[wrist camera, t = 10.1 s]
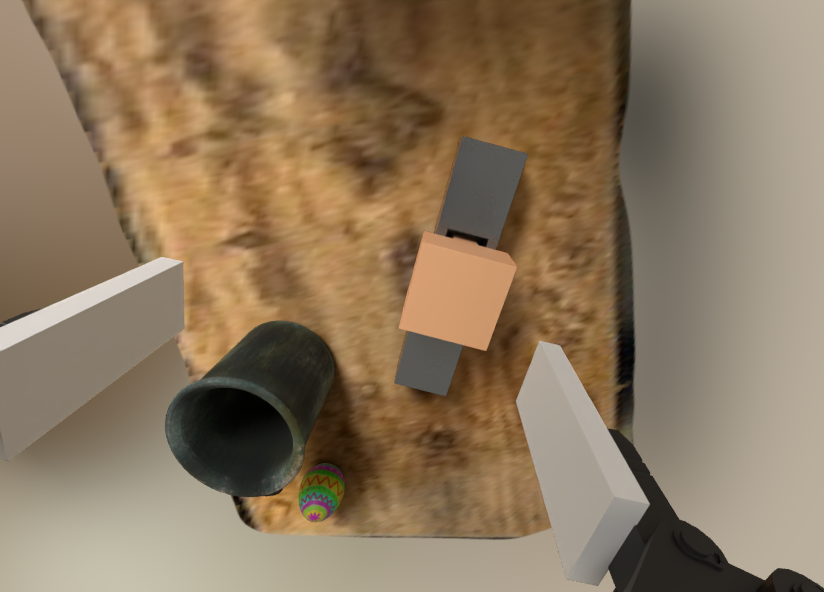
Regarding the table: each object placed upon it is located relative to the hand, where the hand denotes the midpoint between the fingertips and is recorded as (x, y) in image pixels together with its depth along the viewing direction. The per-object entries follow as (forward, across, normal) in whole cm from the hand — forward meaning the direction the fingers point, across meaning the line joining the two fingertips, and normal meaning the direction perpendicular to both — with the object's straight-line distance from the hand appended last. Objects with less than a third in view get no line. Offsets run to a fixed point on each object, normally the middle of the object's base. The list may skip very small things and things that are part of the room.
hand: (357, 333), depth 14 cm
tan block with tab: (+21, +5, -4) cm, 22 cm away
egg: (+22, -3, -32) cm, 38 cm away
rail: (+22, +5, -4) cm, 23 cm away
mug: (+22, -8, -19) cm, 30 cm away
